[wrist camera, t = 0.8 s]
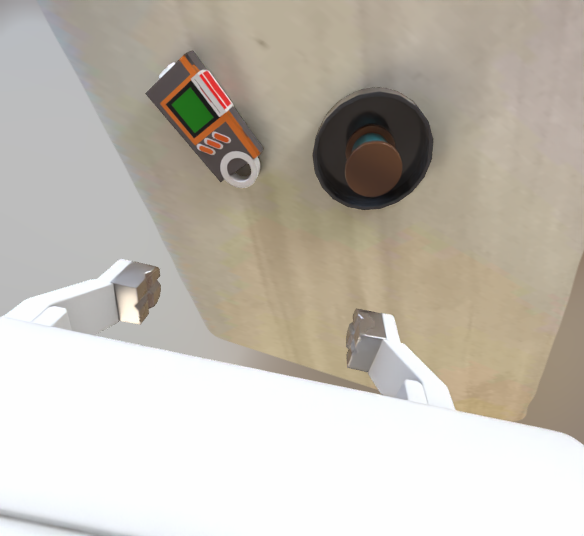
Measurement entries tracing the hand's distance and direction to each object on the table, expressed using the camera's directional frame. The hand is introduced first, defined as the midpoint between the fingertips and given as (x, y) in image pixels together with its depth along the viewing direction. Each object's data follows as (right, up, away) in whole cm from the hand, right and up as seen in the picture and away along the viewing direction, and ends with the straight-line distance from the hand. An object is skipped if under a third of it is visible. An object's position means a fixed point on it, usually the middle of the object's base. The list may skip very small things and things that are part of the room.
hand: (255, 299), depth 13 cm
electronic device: (-8, +19, +26) cm, 33 cm away
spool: (+11, +15, +25) cm, 31 cm away
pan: (+11, +16, +25) cm, 31 cm away
